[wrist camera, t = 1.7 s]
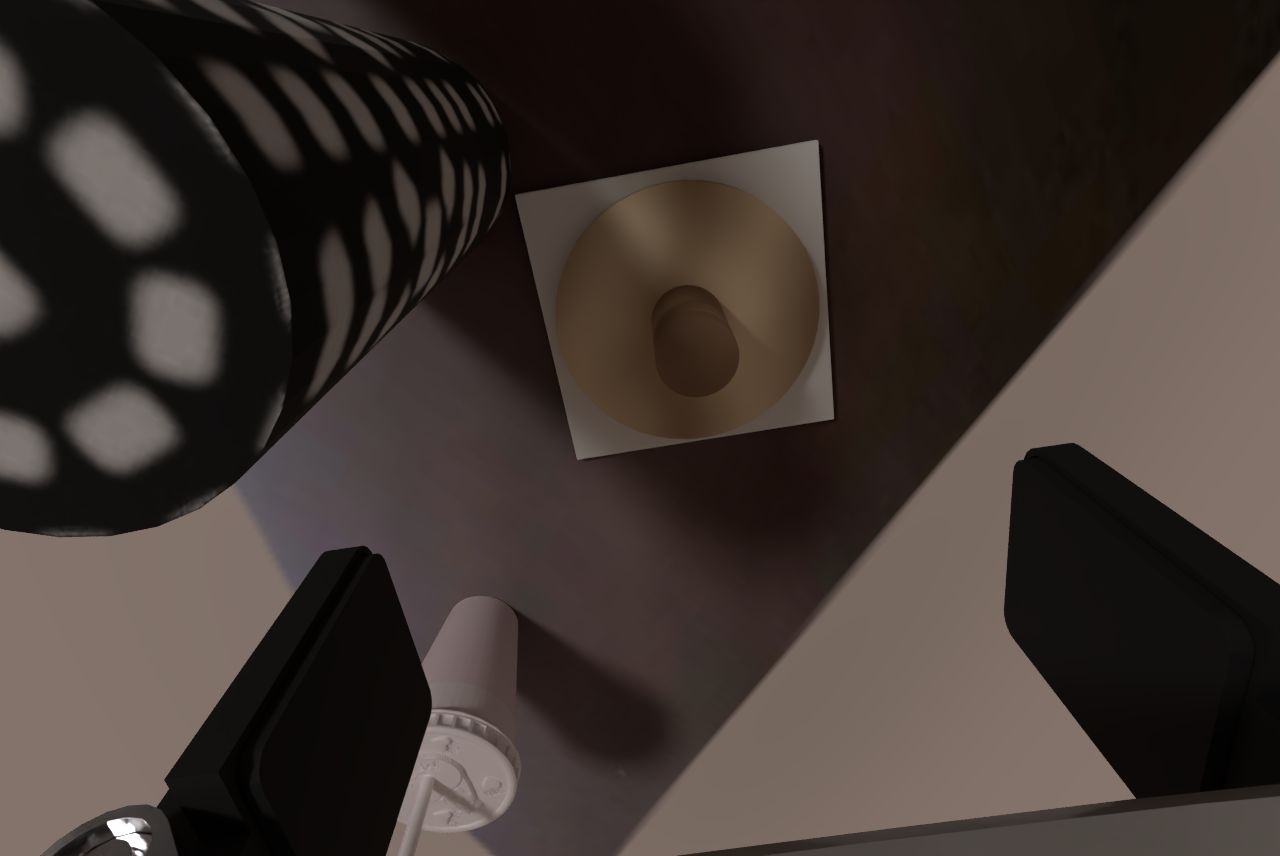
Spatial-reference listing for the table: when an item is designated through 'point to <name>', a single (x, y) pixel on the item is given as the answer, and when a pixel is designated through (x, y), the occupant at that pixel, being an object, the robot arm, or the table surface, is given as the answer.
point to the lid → (687, 309)
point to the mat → (569, 210)
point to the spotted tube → (208, 237)
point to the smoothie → (467, 725)
